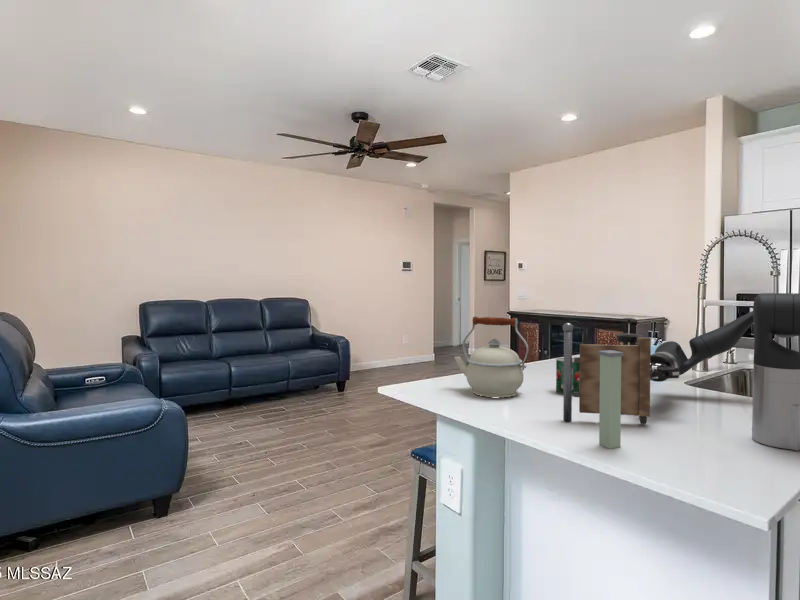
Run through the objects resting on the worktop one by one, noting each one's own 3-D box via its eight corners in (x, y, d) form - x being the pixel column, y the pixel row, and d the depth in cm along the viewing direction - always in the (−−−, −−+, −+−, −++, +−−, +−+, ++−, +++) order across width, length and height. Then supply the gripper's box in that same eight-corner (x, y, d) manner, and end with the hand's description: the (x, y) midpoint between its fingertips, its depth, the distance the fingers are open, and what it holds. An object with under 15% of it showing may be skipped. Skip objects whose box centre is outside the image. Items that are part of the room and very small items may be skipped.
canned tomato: (552, 390, 152) (553, 357, 151) (576, 390, 151) (576, 357, 151) (560, 396, 144) (560, 361, 143) (585, 396, 143) (585, 361, 143)
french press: (606, 379, 167) (607, 317, 167) (627, 377, 170) (627, 316, 170) (632, 386, 156) (633, 319, 155) (653, 384, 159) (654, 319, 158)
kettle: (535, 391, 150) (535, 316, 149) (519, 404, 135) (519, 320, 134) (464, 383, 163) (464, 314, 162) (443, 394, 147) (442, 317, 146)
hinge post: (575, 421, 117) (575, 322, 116) (567, 422, 116) (568, 323, 115) (567, 418, 120) (567, 322, 119) (560, 420, 118) (560, 322, 117)
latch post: (597, 443, 101) (597, 350, 100) (610, 441, 102) (611, 350, 101) (609, 449, 97) (610, 353, 97) (622, 447, 99) (623, 352, 98)
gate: (574, 421, 116) (575, 337, 115) (573, 418, 119) (573, 336, 118) (649, 425, 112) (650, 338, 112) (646, 422, 115) (647, 337, 114)
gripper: (687, 382, 125) (673, 394, 112) (635, 376, 134) (616, 386, 121) (687, 355, 125) (673, 364, 112) (635, 350, 134) (616, 358, 121)
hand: (644, 375), depth 116 cm, fingers closed
